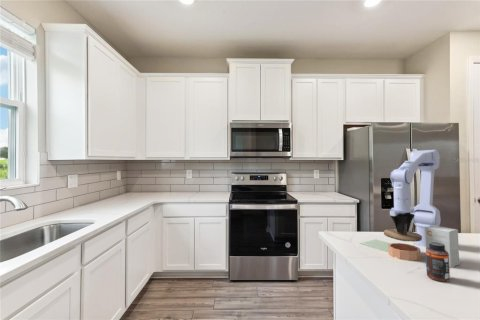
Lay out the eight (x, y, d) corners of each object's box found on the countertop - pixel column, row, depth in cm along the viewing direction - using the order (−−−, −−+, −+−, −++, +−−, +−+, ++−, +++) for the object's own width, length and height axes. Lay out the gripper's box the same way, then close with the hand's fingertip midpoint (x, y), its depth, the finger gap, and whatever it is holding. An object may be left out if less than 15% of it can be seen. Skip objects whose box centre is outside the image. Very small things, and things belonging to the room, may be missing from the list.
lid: (394, 231, 110) (395, 218, 110) (428, 240, 98) (428, 225, 98) (377, 235, 103) (377, 222, 103) (410, 245, 92) (411, 230, 92)
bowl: (397, 250, 108) (397, 241, 108) (425, 258, 98) (425, 248, 98) (383, 255, 102) (382, 245, 102) (411, 264, 93) (411, 253, 93)
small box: (459, 264, 92) (458, 229, 92) (450, 267, 89) (449, 231, 89) (434, 257, 99) (433, 224, 99) (425, 260, 96) (424, 226, 96)
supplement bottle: (454, 283, 77) (453, 247, 78) (432, 281, 79) (431, 246, 79) (442, 274, 83) (441, 241, 83) (422, 273, 84) (422, 240, 85)
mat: (375, 240, 122) (375, 239, 122) (403, 247, 111) (403, 246, 111) (359, 244, 116) (359, 243, 116) (387, 252, 105) (386, 251, 105)
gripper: (401, 196, 108) (402, 227, 108) (381, 198, 101) (382, 232, 101) (419, 198, 102) (420, 231, 102) (400, 200, 95) (401, 236, 94)
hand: (402, 231), depth 101 cm, fingers closed on lid, 3 cm apart
